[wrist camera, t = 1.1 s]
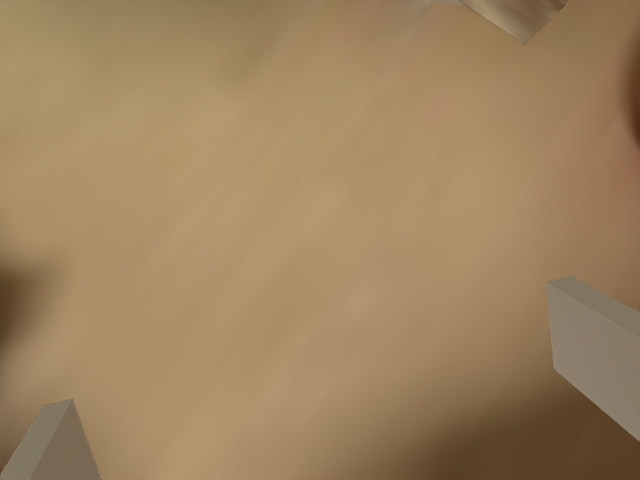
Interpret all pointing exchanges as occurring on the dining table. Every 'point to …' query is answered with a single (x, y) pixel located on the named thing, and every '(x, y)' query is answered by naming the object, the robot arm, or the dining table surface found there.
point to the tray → (517, 14)
